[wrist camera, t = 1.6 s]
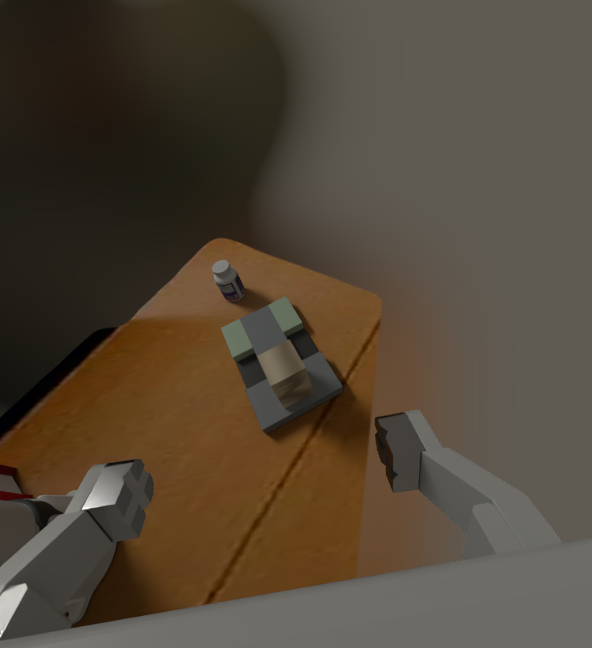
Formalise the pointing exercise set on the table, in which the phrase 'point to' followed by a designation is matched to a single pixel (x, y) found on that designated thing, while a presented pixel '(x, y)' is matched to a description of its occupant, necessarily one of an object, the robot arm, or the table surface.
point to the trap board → (265, 334)
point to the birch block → (286, 373)
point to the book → (9, 485)
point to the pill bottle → (228, 281)
